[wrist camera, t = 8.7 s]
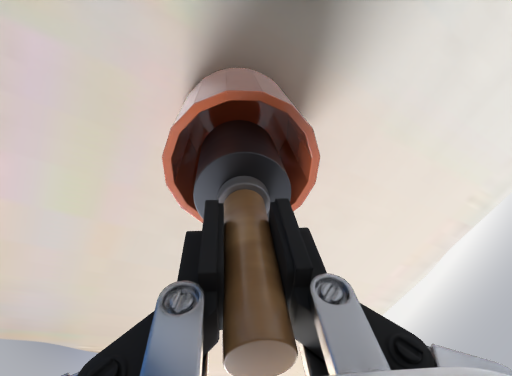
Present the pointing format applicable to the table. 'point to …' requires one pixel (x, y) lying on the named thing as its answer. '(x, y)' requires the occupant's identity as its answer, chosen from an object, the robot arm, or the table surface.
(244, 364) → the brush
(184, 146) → the tumbler
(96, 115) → the table surface
